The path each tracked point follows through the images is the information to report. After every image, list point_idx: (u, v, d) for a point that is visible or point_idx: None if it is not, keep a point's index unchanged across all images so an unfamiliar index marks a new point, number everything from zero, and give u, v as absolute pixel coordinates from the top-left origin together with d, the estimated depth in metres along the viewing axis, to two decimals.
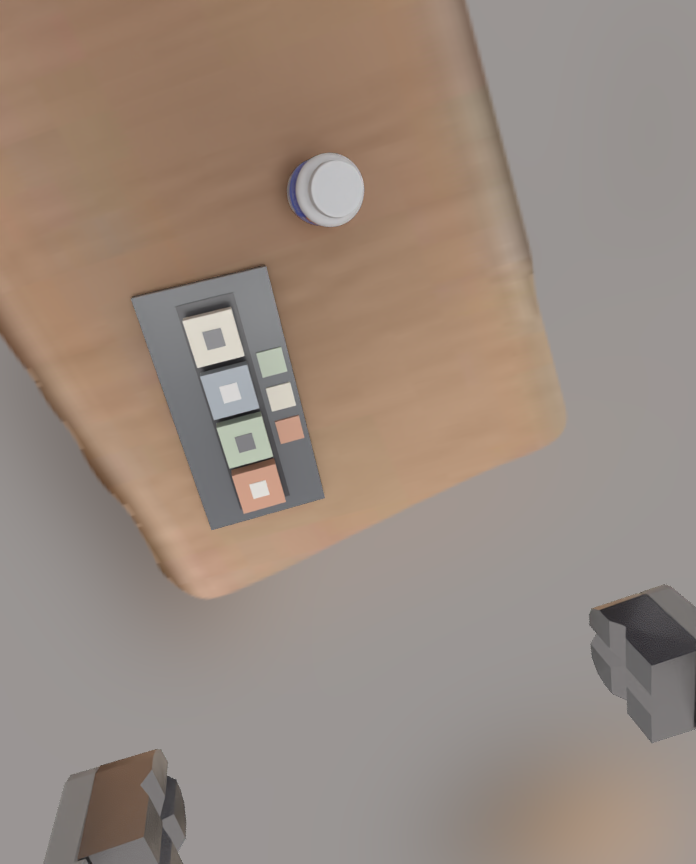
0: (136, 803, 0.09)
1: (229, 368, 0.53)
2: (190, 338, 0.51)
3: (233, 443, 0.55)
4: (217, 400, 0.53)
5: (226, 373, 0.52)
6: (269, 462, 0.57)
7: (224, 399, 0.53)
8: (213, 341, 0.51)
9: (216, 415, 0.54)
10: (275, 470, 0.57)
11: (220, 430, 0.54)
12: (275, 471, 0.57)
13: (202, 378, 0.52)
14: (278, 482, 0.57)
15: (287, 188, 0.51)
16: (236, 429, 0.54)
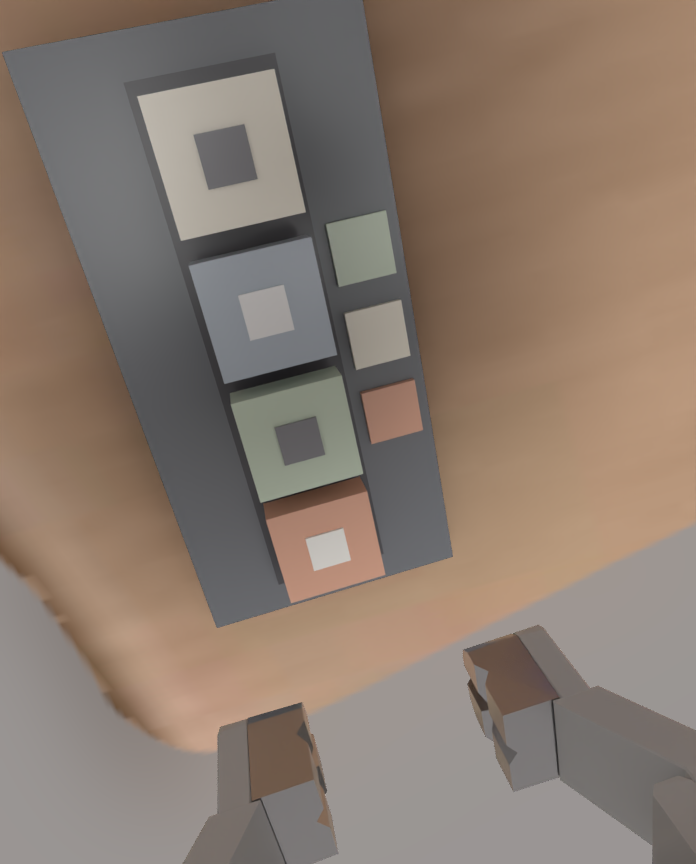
0: (297, 750, 0.09)
1: (265, 247, 0.20)
2: (159, 152, 0.18)
3: (272, 441, 0.22)
4: (233, 332, 0.21)
5: (257, 259, 0.20)
6: (351, 487, 0.25)
7: (251, 329, 0.21)
8: (223, 163, 0.19)
9: (230, 371, 0.21)
10: (366, 505, 0.24)
11: (240, 410, 0.22)
12: (366, 508, 0.24)
13: (194, 271, 0.20)
14: (371, 532, 0.25)
15: None
16: (279, 408, 0.22)
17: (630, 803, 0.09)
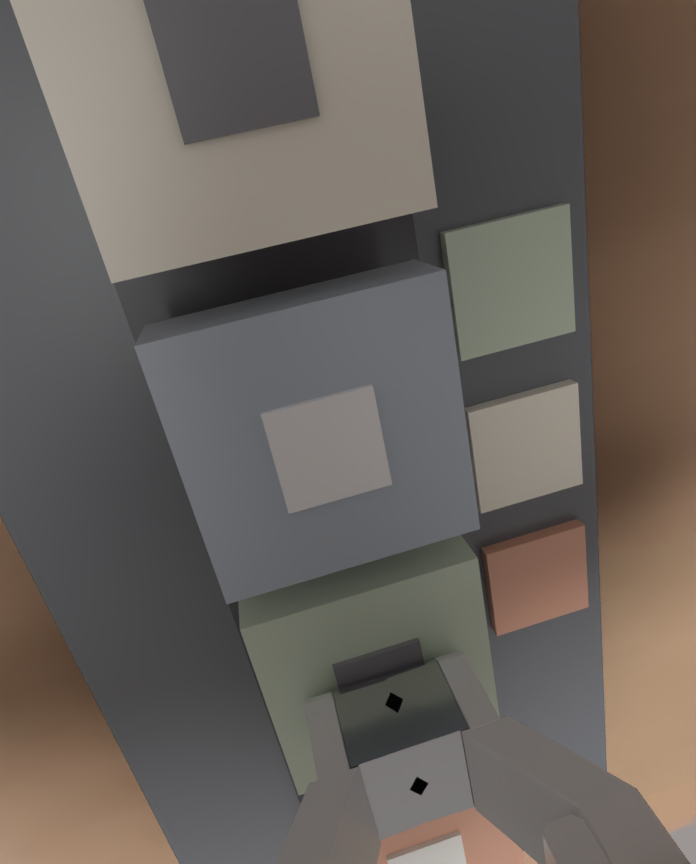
0: (388, 720, 0.09)
1: (329, 294, 0.08)
2: (38, 30, 0.06)
3: (326, 690, 0.11)
4: (250, 496, 0.09)
5: (311, 326, 0.08)
6: None
7: (292, 489, 0.09)
8: (227, 66, 0.07)
9: (241, 578, 0.09)
10: None
11: (260, 639, 0.10)
12: None
13: (151, 358, 0.08)
14: None
15: None
16: (344, 628, 0.10)
17: (536, 837, 0.09)
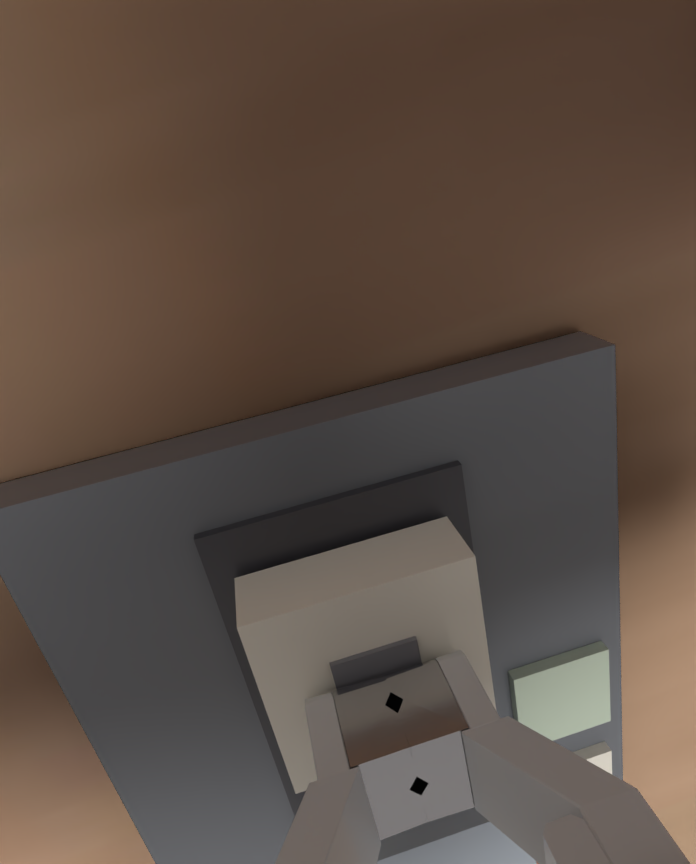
0: (388, 720, 0.09)
1: (445, 821, 0.11)
2: (271, 693, 0.10)
3: None
4: None
5: (434, 851, 0.11)
6: None
7: None
8: None
9: None
10: None
11: None
12: None
13: None
14: None
15: None
16: None
17: (536, 837, 0.09)
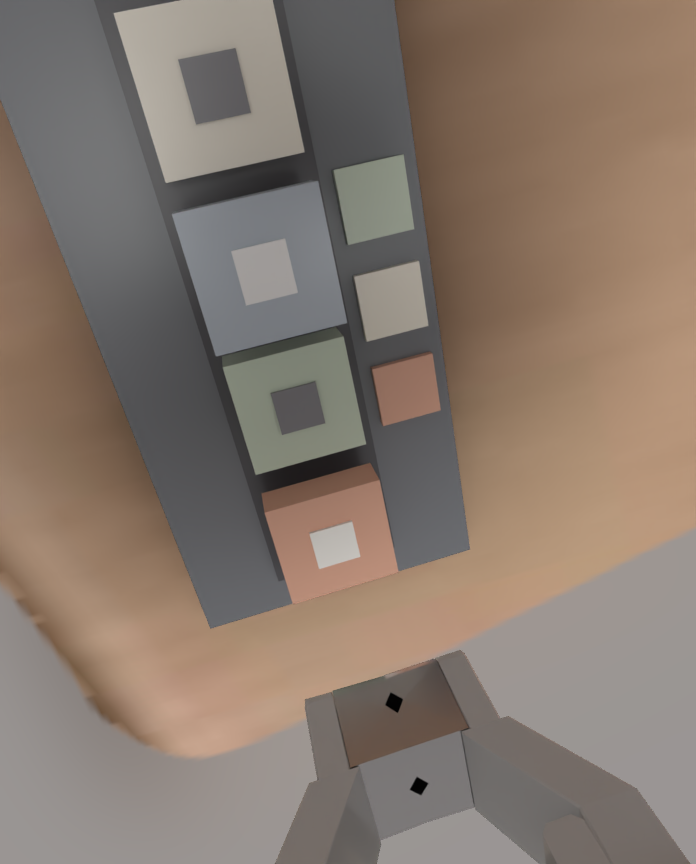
0: (388, 720, 0.09)
1: (263, 193, 0.17)
2: (140, 80, 0.16)
3: (268, 408, 0.21)
4: (226, 295, 0.18)
5: (254, 207, 0.17)
6: (361, 475, 0.22)
7: (247, 292, 0.18)
8: (213, 93, 0.17)
9: (223, 342, 0.18)
10: (378, 496, 0.21)
11: (233, 374, 0.20)
12: (378, 498, 0.21)
13: (179, 220, 0.17)
14: (383, 526, 0.22)
15: None
16: (276, 371, 0.20)
17: (536, 837, 0.09)
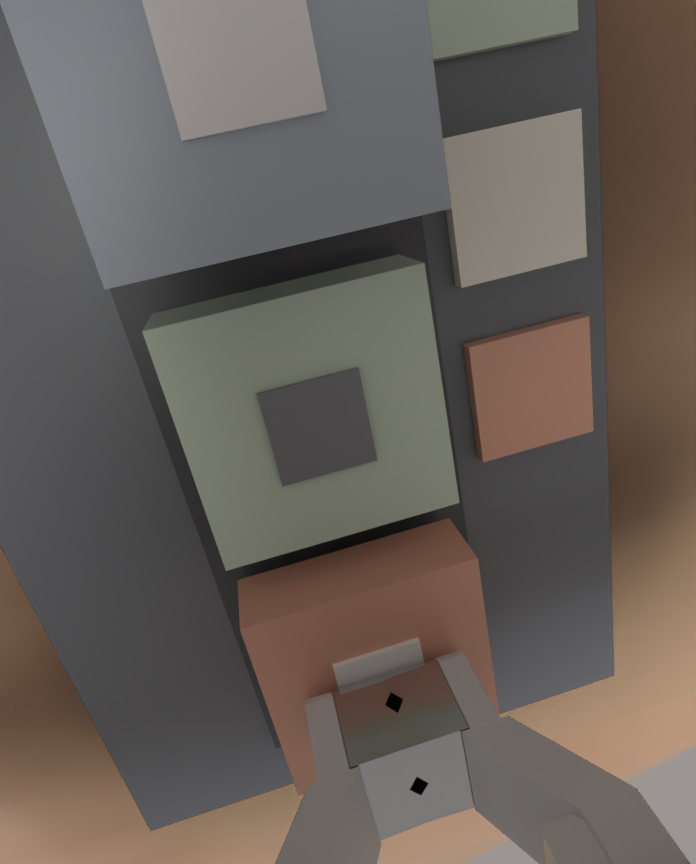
0: (388, 720, 0.09)
1: None
2: None
3: (251, 428, 0.09)
4: (125, 108, 0.06)
5: None
6: (437, 545, 0.11)
7: (185, 99, 0.06)
8: None
9: (123, 249, 0.07)
10: (474, 589, 0.11)
11: (168, 347, 0.09)
12: (473, 594, 0.11)
13: None
14: (480, 645, 0.11)
15: None
16: (269, 344, 0.09)
17: (536, 837, 0.09)
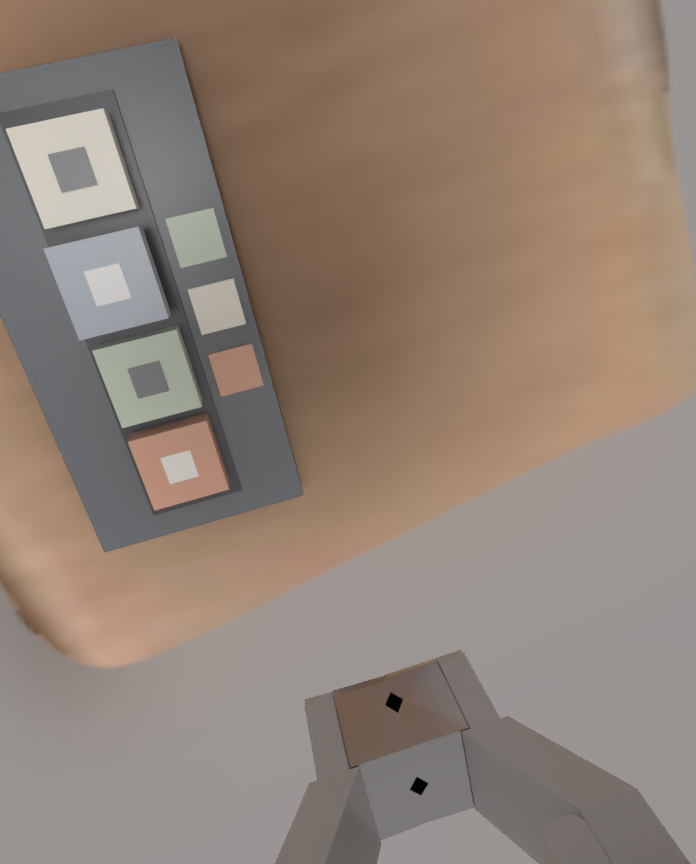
0: (388, 720, 0.09)
1: (104, 234, 0.27)
2: (24, 167, 0.26)
3: (127, 380, 0.30)
4: (83, 300, 0.27)
5: (97, 243, 0.27)
6: (197, 419, 0.32)
7: (97, 297, 0.27)
8: (71, 173, 0.27)
9: (83, 331, 0.28)
10: (207, 432, 0.32)
11: (99, 355, 0.29)
12: (207, 434, 0.32)
13: (48, 252, 0.26)
14: (213, 454, 0.32)
15: None
16: (130, 354, 0.30)
17: (536, 837, 0.09)
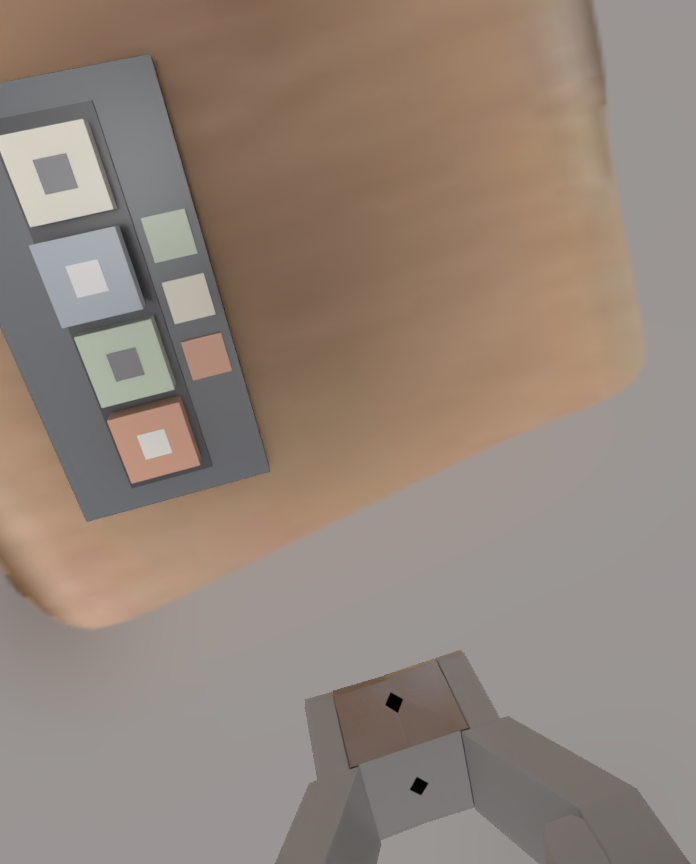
0: (388, 720, 0.09)
1: (83, 233, 0.30)
2: (11, 171, 0.29)
3: (106, 364, 0.33)
4: (65, 292, 0.30)
5: (77, 241, 0.30)
6: (171, 401, 0.35)
7: (77, 290, 0.30)
8: (54, 177, 0.29)
9: (65, 319, 0.31)
10: (179, 412, 0.35)
11: (81, 341, 0.33)
12: (179, 414, 0.35)
13: (33, 249, 0.29)
14: (186, 433, 0.36)
15: None
16: (108, 340, 0.33)
17: (536, 837, 0.09)
